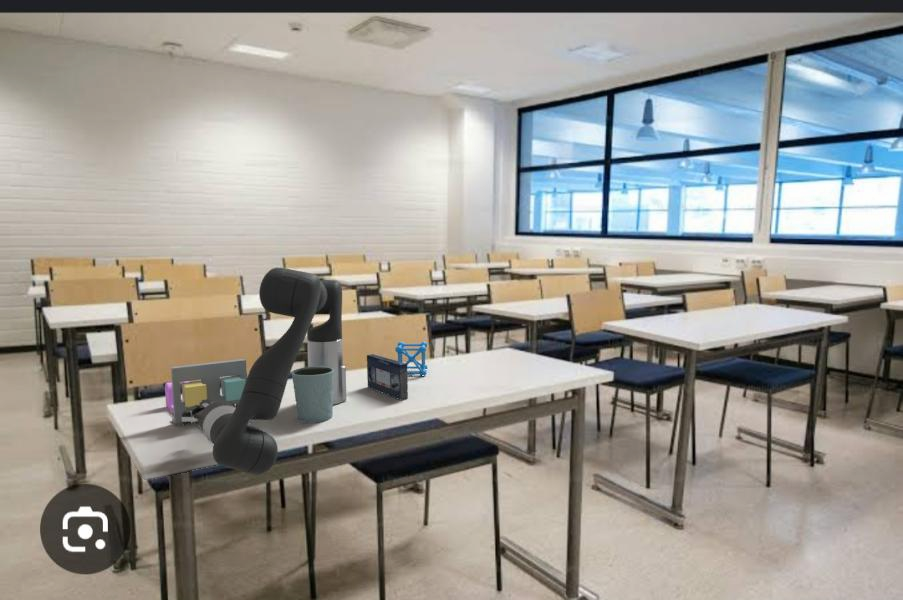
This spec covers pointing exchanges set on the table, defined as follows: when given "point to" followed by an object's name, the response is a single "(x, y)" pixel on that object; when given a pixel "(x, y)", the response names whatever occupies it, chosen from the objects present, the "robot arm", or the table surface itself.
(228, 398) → the teal button
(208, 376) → the panel
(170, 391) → the bracket
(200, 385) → the mustard button
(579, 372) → the table surface
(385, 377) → the vhs cassette tape
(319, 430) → the table surface
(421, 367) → the molecular structure
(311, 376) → the teal cup
